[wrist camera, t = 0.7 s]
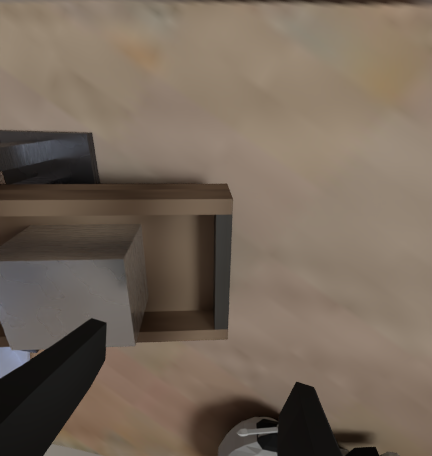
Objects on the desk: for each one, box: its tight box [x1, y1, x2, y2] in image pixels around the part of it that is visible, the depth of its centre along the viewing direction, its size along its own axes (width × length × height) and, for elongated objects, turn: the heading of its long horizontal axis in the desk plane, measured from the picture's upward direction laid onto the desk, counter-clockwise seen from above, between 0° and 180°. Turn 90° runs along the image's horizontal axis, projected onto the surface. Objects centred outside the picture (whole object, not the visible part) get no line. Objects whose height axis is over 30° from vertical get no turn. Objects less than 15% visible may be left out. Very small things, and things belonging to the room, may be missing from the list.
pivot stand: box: [0, 130, 100, 353], centre depth 19 cm, size 7×14×6 cm, turn 0°
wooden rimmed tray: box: [0, 184, 233, 347], centre depth 16 cm, size 26×9×3 cm, turn 89°
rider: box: [0, 224, 149, 350], centre depth 15 cm, size 7×5×5 cm
